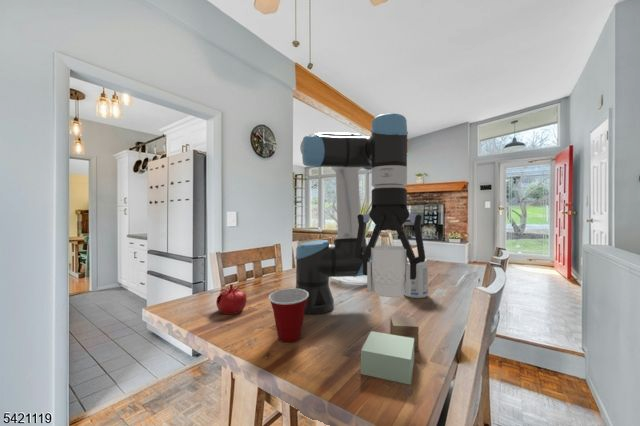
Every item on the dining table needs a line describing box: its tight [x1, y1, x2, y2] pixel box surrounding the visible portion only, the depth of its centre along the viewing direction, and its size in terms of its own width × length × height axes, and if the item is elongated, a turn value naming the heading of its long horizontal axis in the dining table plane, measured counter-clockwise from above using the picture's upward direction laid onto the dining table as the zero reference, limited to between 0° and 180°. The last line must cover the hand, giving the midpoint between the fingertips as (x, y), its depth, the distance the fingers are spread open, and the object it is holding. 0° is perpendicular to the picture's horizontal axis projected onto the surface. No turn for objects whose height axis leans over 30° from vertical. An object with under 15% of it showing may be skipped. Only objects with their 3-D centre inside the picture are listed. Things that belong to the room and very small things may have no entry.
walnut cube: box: [389, 316, 420, 352], centre depth 73 cm, size 6×6×6 cm
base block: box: [360, 331, 415, 386], centre depth 62 cm, size 10×10×5 cm
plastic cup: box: [268, 287, 309, 343], centre depth 76 cm, size 11×11×12 cm
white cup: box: [371, 244, 407, 298], centre depth 62 cm, size 8×8×10 cm
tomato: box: [215, 283, 248, 315], centre depth 97 cm, size 10×10×9 cm
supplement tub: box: [404, 257, 429, 299], centre depth 114 cm, size 10×10×15 cm
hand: (388, 292), depth 62 cm, fingers closed on white cup, 7 cm apart
